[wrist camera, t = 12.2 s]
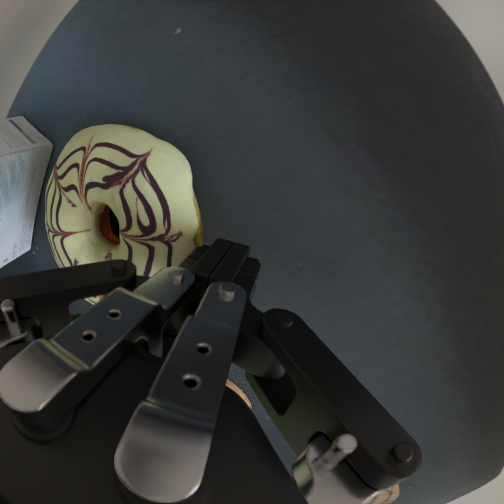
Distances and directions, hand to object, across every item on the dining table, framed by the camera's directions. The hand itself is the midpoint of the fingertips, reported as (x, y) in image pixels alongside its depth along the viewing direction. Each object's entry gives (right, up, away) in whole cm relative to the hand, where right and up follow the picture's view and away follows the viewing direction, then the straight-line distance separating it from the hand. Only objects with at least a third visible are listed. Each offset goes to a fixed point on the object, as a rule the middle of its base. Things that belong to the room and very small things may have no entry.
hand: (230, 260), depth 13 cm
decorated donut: (-6, +3, +3) cm, 7 cm away
